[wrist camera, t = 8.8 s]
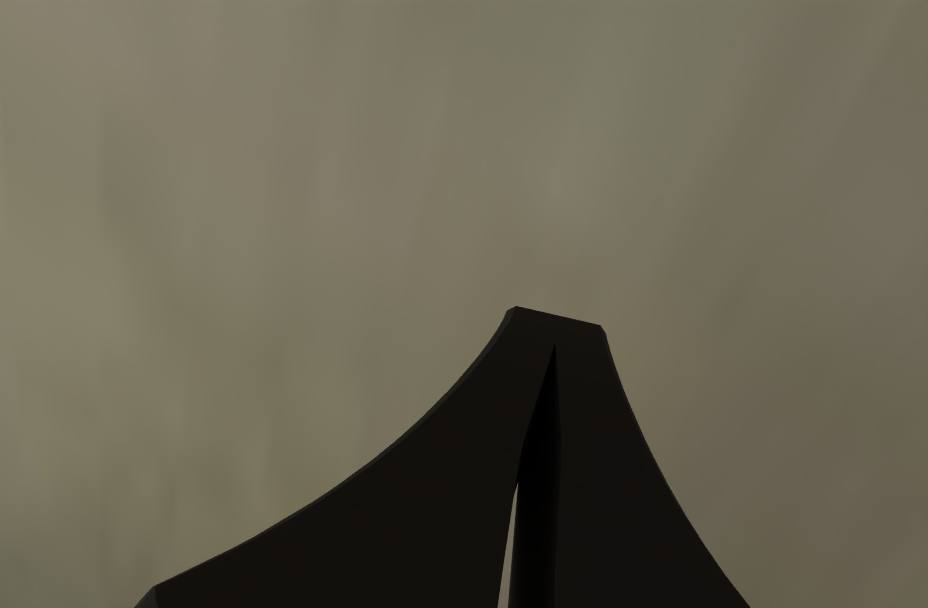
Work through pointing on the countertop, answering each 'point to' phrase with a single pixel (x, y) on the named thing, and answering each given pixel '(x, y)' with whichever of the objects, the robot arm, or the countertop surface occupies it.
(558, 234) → the countertop surface
